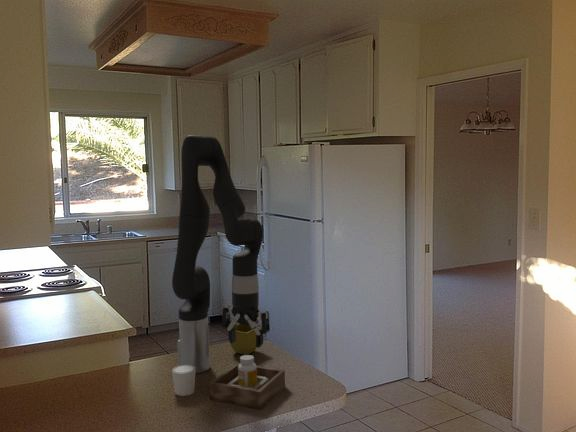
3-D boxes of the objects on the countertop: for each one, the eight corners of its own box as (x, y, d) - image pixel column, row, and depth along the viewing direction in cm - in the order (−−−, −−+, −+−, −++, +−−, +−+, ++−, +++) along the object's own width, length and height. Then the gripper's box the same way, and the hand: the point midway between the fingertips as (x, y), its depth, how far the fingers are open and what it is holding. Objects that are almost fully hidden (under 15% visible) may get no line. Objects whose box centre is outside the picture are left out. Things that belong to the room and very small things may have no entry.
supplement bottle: (258, 385, 161) (257, 354, 160) (255, 393, 156) (254, 360, 155) (240, 385, 162) (239, 353, 161) (237, 393, 157) (235, 360, 155)
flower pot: (247, 358, 186) (246, 332, 185) (227, 353, 191) (226, 328, 190) (262, 350, 193) (261, 325, 192) (242, 346, 198) (242, 322, 197)
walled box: (210, 399, 155) (209, 383, 154) (238, 378, 169) (237, 362, 169) (260, 409, 148) (260, 392, 148) (285, 386, 163) (284, 370, 162)
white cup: (201, 388, 163) (200, 366, 162) (187, 398, 156) (186, 374, 156) (182, 385, 165) (181, 362, 165) (168, 394, 159) (167, 371, 158)
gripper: (216, 289, 155) (217, 345, 157) (261, 295, 149) (261, 352, 151) (230, 283, 162) (231, 337, 164) (273, 289, 156) (273, 344, 158)
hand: (245, 344), depth 157 cm, fingers open, 8 cm apart
